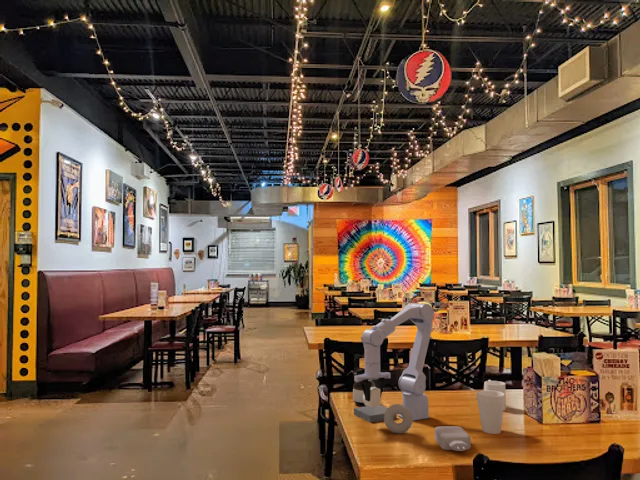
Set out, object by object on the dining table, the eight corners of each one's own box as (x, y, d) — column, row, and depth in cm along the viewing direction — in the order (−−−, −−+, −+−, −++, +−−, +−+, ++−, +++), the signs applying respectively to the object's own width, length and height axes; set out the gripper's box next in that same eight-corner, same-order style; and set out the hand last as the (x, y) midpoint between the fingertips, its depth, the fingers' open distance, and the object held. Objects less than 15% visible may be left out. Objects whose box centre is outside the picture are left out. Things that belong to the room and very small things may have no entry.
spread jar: (362, 400, 220) (362, 373, 221) (385, 404, 213) (385, 376, 214) (348, 406, 210) (347, 378, 211) (371, 410, 204) (371, 381, 205)
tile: (379, 410, 203) (379, 404, 203) (396, 418, 192) (396, 411, 192) (354, 414, 198) (353, 408, 198) (369, 422, 187) (369, 415, 187)
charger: (446, 457, 152) (435, 440, 167) (477, 457, 152) (462, 440, 167) (446, 441, 152) (434, 426, 167) (476, 441, 152) (462, 426, 167)
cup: (498, 402, 215) (497, 378, 215) (509, 410, 203) (508, 385, 203) (479, 402, 214) (478, 379, 215) (489, 410, 202) (488, 385, 203)
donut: (412, 432, 175) (412, 403, 176) (413, 435, 172) (412, 405, 172) (384, 431, 177) (383, 402, 177) (384, 434, 173) (383, 405, 174)
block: (374, 403, 186) (374, 386, 186) (380, 405, 182) (380, 389, 183) (365, 404, 184) (365, 388, 185) (371, 407, 181) (371, 390, 181)
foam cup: (485, 425, 183) (484, 389, 184) (510, 430, 176) (509, 393, 177) (472, 431, 176) (471, 393, 177) (497, 437, 169) (496, 398, 170)
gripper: (383, 359, 191) (383, 395, 190) (350, 362, 185) (350, 399, 184) (393, 361, 185) (394, 399, 184) (359, 365, 179) (360, 404, 178)
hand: (372, 399), depth 184 cm, fingers closed on block, 4 cm apart
